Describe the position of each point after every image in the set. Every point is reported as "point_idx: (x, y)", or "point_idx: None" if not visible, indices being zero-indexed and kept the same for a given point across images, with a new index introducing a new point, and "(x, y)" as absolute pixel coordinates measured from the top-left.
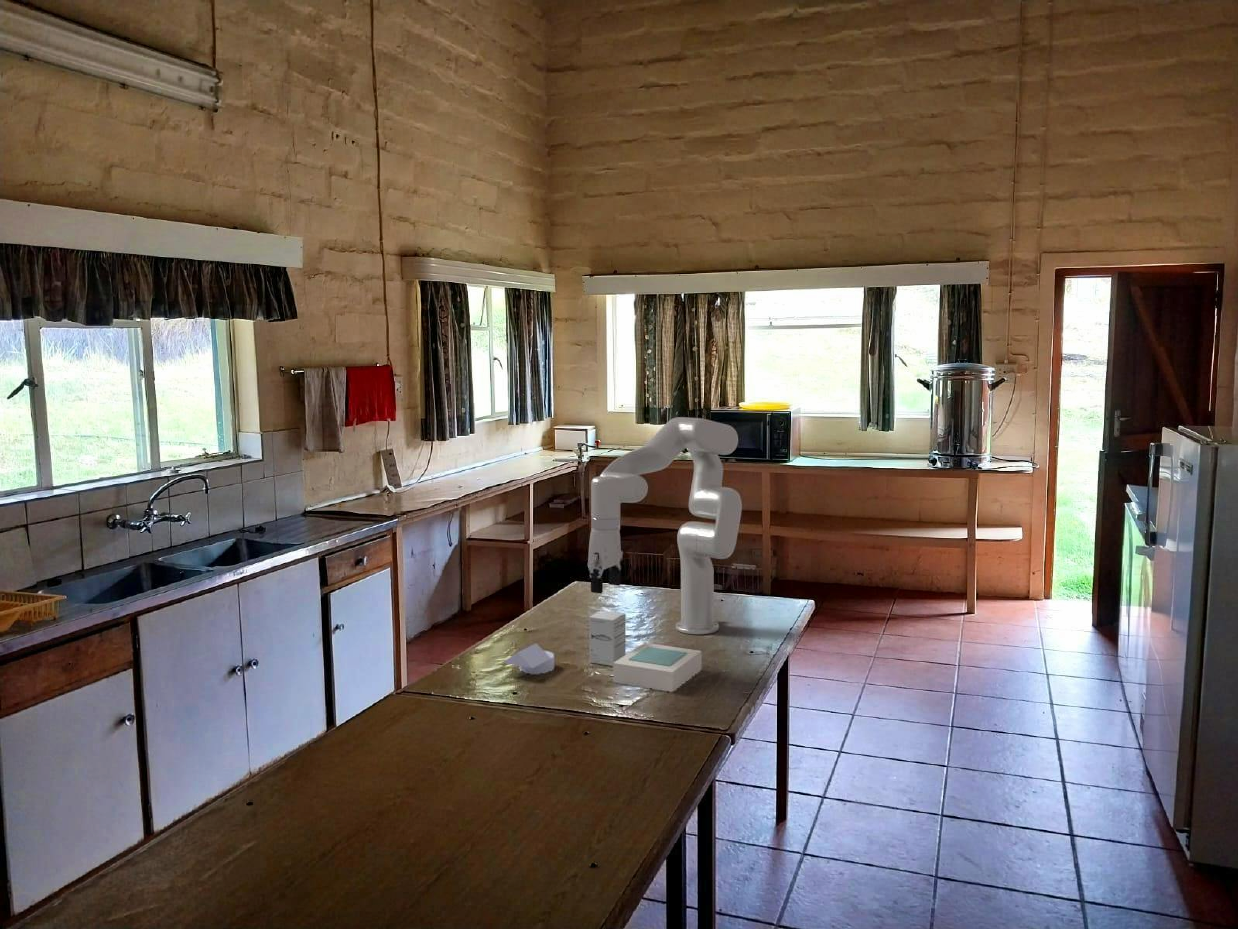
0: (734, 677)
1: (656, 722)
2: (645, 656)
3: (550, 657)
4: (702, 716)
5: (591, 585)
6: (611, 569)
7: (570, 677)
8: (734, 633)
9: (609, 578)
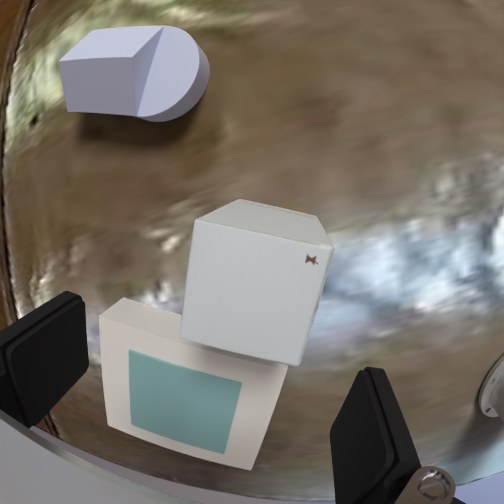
0: (232, 475)
1: None
2: (160, 385)
3: (144, 110)
4: (73, 426)
5: (39, 313)
6: (381, 488)
7: (122, 188)
8: (475, 437)
9: (369, 405)
